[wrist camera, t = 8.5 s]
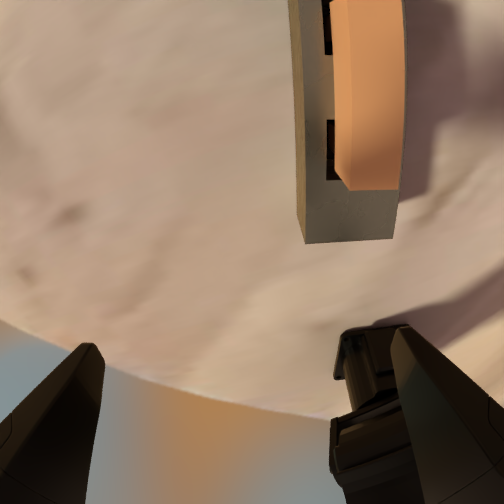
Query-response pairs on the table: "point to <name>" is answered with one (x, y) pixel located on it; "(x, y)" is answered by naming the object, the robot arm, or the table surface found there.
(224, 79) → the table surface
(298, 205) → the rail
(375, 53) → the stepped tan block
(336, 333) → the table surface
